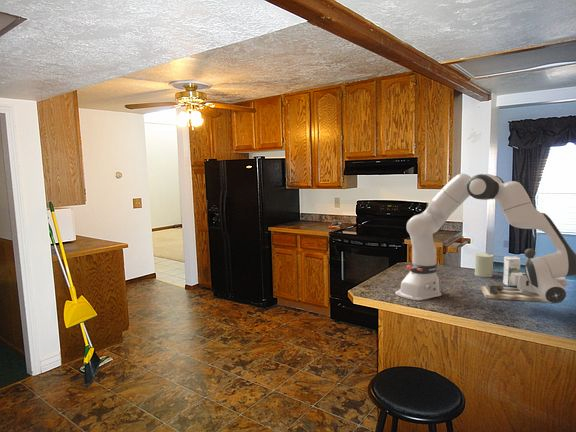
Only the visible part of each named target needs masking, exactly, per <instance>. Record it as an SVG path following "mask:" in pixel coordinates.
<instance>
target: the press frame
mask: <svg viewBox="0 0 576 432" xmlns="http://www.w3.org/2000/svg"><path fill="white" fill-rule="evenodd" d="M480 291H481V292H482V294H483V295H484V297H485V298H486V299H494V300H509V301H510V300H512V301H529V302H541V303H542V302H543V303H548V302H547V301H545V300H544V299H542V298H541V297H540V296H539V295H538V294H537V293H524V292H521V291H520V290H519V288H518V287H504V285H502V283H496V282H495V281H494V280H493V279H485V285H481V286H480Z"/></svg>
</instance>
